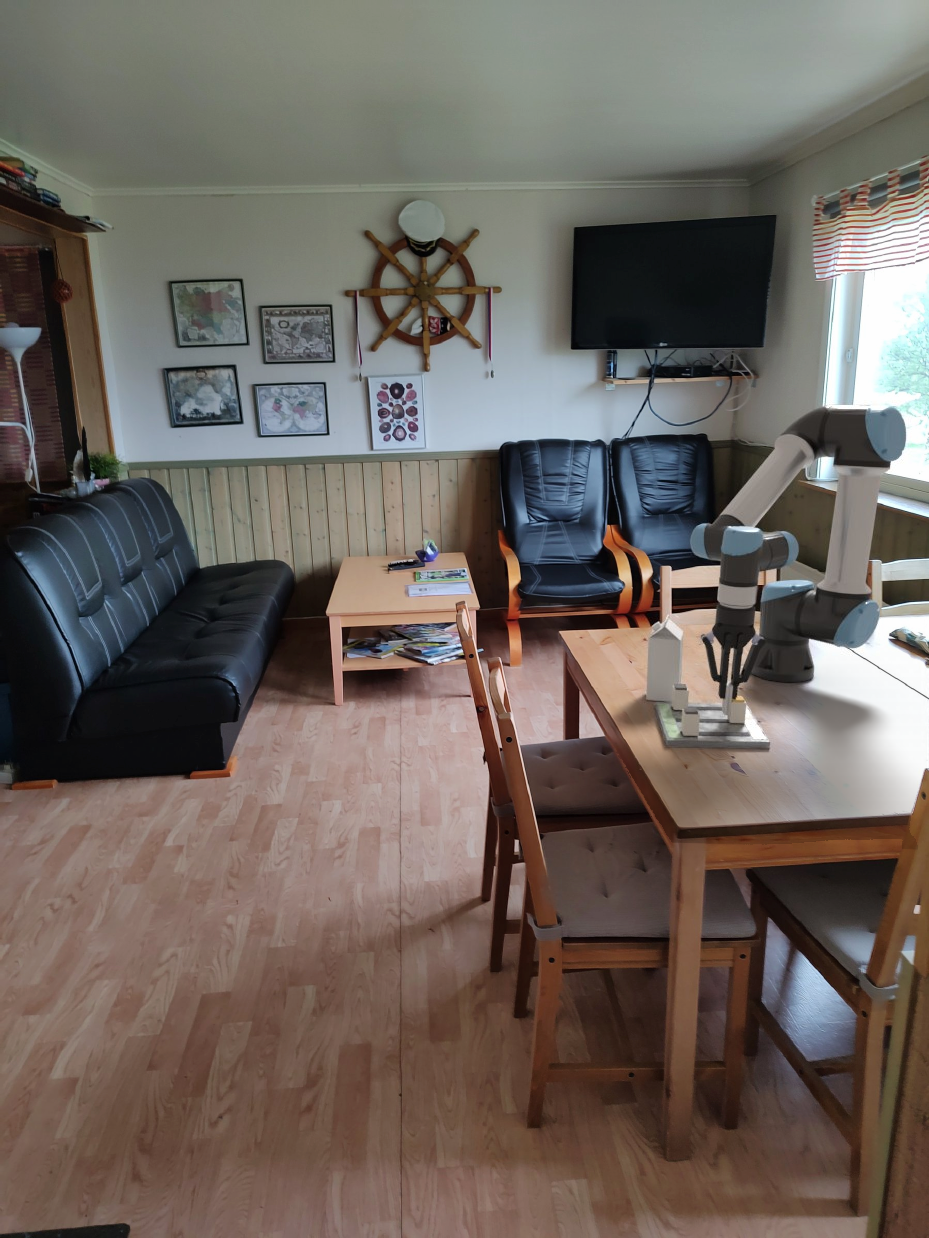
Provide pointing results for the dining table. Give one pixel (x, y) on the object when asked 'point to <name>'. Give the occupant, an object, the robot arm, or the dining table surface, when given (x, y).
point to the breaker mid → (737, 710)
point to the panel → (710, 728)
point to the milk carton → (664, 660)
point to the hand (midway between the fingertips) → (726, 712)
